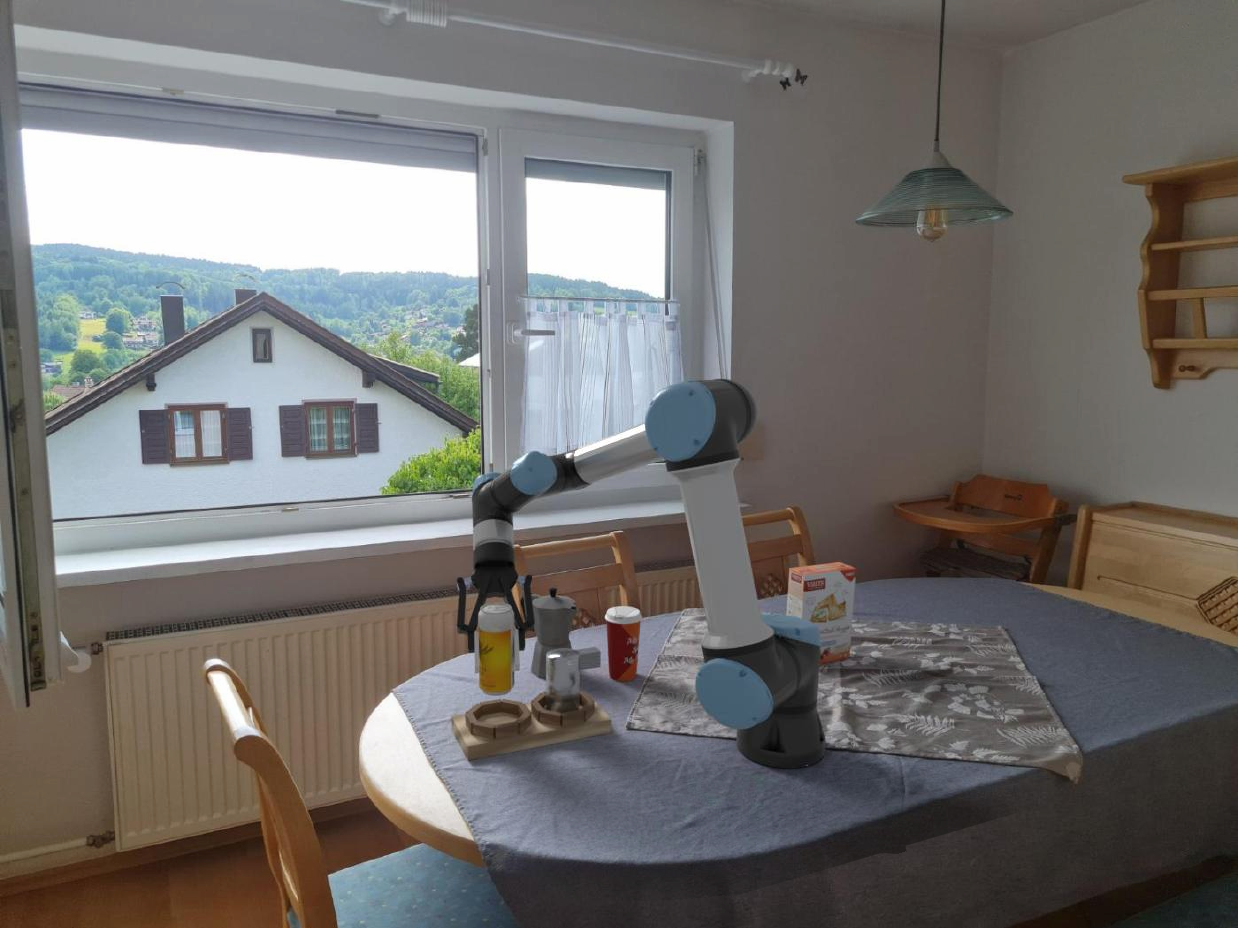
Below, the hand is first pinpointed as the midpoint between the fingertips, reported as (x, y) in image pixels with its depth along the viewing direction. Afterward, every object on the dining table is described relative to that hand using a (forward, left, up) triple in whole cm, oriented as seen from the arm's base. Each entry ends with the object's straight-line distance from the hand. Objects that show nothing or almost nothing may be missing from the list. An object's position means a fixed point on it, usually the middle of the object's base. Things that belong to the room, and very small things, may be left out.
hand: (497, 668), depth 146 cm
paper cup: (+19, -32, -14) cm, 40 cm away
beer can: (+4, -1, -6) cm, 7 cm away
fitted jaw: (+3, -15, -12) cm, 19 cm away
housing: (+3, -7, -14) cm, 16 cm away
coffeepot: (+28, -19, -14) cm, 37 cm away
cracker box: (+11, -75, -14) cm, 77 cm away
